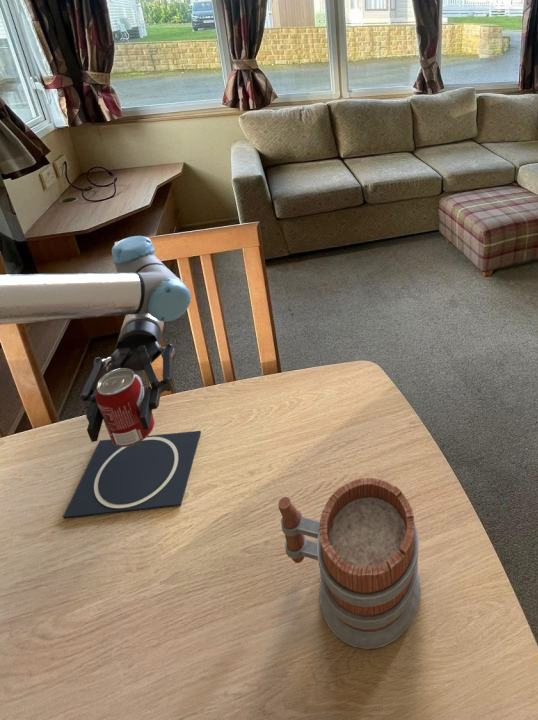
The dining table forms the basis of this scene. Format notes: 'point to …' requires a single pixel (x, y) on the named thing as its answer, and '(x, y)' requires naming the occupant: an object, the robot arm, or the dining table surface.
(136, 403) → the soda can
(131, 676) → the dining table surface
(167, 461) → the mat
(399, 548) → the mug
